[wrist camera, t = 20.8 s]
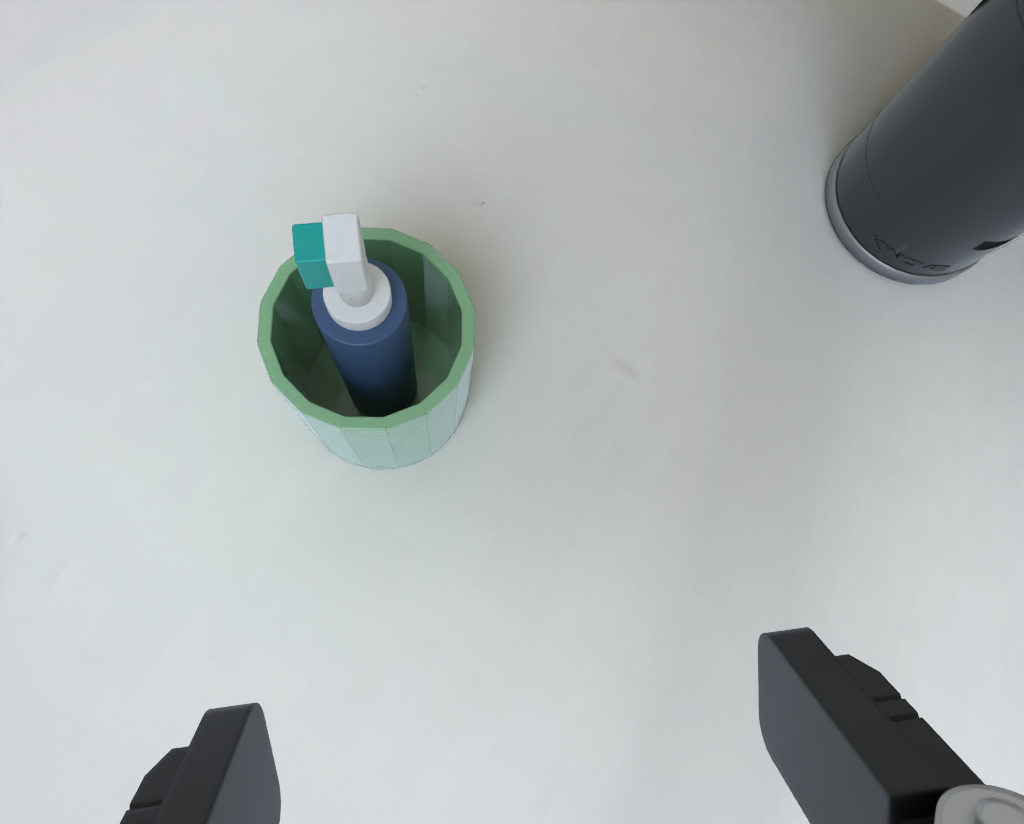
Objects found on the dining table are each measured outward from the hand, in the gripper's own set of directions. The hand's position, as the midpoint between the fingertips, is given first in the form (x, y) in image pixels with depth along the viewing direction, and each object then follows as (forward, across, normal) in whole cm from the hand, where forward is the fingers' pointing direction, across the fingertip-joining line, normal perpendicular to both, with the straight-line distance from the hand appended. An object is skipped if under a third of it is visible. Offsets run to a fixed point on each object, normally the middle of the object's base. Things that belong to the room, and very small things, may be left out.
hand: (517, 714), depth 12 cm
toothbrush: (+25, +4, 0) cm, 26 cm away
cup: (+26, +4, 0) cm, 26 cm away
